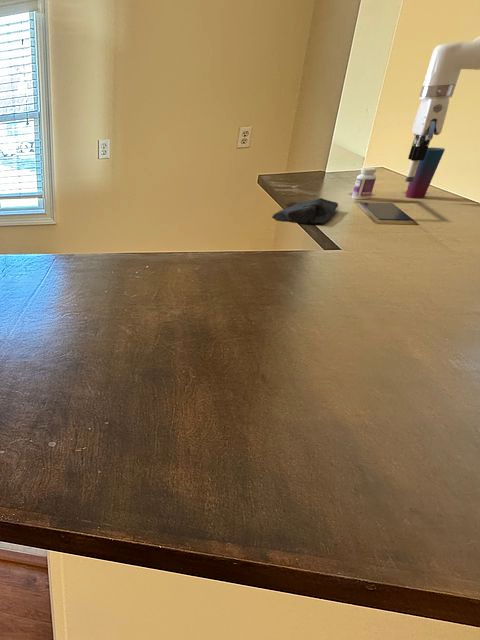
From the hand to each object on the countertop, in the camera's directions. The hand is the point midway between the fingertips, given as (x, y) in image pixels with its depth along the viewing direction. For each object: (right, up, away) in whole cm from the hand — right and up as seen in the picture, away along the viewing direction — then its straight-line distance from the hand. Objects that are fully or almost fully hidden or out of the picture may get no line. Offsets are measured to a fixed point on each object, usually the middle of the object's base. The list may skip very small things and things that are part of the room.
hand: (415, 159), depth 149 cm
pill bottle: (-5, -7, +17) cm, 19 cm away
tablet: (-9, -18, -4) cm, 21 cm away
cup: (+11, -7, +13) cm, 19 cm away
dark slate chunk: (-33, -17, +2) cm, 37 cm away
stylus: (+1, -6, +3) cm, 7 cm away
